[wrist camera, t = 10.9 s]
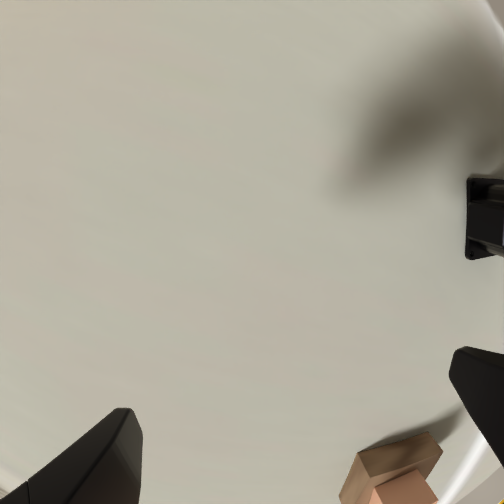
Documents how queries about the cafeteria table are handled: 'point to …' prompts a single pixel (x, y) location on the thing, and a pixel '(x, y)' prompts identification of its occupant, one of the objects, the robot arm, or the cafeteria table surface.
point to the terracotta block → (404, 491)
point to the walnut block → (388, 466)
